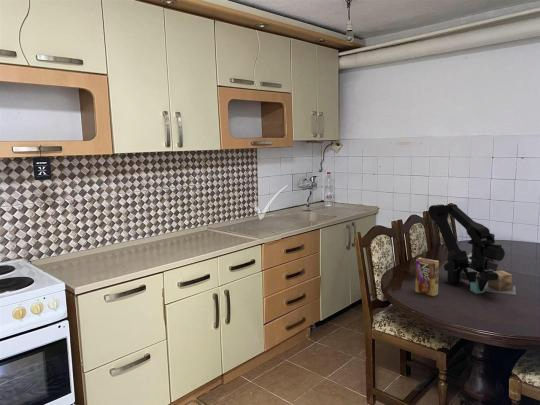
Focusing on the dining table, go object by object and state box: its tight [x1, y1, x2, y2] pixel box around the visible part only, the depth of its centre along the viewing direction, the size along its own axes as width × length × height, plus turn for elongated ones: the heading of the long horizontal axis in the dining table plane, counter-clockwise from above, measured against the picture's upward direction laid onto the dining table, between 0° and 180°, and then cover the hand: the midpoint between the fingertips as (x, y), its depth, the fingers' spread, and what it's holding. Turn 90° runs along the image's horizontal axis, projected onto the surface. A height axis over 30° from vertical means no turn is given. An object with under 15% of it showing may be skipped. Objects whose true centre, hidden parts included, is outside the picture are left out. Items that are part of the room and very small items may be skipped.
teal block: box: [469, 280, 485, 294], centre depth 181 cm, size 4×4×4 cm
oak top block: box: [492, 270, 513, 283], centre depth 183 cm, size 6×6×4 cm
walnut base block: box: [488, 280, 514, 291], centre depth 183 cm, size 7×7×4 cm
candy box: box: [414, 257, 440, 297], centre depth 181 cm, size 9×4×15 cm, turn 45°
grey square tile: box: [484, 282, 517, 296], centre depth 184 cm, size 12×12×1 cm
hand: (477, 289), depth 181 cm, fingers open, 5 cm apart
